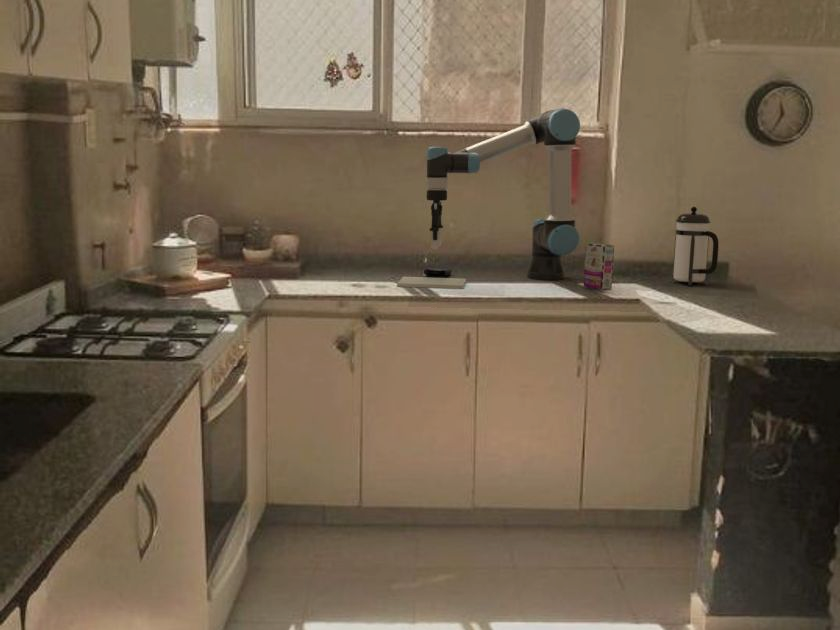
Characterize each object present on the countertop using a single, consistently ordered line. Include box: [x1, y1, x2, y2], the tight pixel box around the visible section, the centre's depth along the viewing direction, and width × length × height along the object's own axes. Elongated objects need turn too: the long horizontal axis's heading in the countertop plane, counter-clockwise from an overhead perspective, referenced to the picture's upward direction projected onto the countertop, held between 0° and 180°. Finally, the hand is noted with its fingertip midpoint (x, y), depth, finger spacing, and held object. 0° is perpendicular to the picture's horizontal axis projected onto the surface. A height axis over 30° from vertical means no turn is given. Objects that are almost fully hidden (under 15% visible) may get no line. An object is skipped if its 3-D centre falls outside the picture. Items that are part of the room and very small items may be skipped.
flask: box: [423, 267, 453, 278], centre depth 362 cm, size 9×3×11 cm
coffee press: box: [668, 206, 719, 287], centre depth 353 cm, size 17×16×30 cm
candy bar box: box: [582, 242, 615, 291], centre depth 337 cm, size 11×5×16 cm, turn 27°
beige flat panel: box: [396, 276, 467, 290], centre depth 339 cm, size 24×20×1 cm
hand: (436, 247), depth 339 cm, fingers open, 13 cm apart
